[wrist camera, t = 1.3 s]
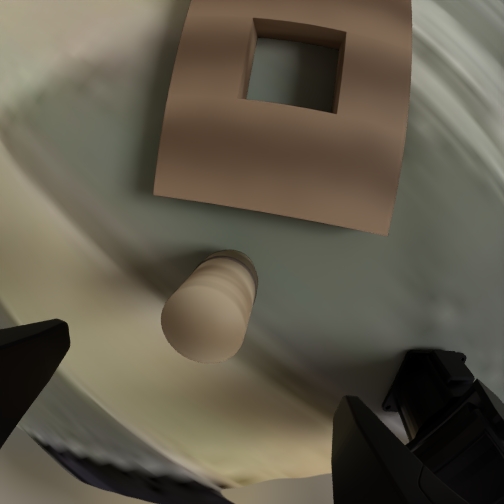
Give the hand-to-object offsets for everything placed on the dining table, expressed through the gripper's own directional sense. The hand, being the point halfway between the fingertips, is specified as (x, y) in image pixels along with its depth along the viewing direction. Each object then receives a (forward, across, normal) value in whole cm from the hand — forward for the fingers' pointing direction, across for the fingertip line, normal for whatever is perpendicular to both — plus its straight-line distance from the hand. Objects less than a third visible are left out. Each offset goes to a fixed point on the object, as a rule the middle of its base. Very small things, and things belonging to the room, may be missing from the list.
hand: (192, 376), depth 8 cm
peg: (+13, +1, +1) cm, 13 cm away
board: (+13, -1, -13) cm, 18 cm away
